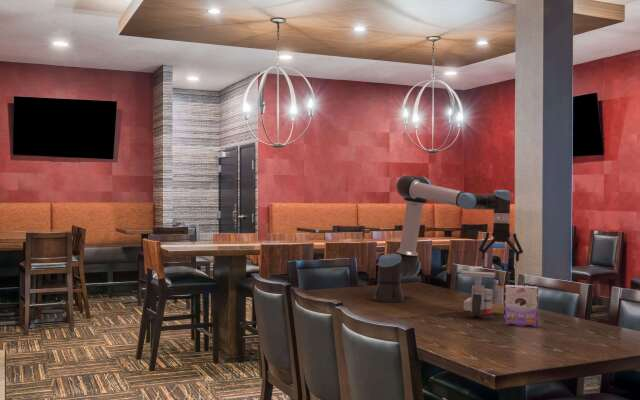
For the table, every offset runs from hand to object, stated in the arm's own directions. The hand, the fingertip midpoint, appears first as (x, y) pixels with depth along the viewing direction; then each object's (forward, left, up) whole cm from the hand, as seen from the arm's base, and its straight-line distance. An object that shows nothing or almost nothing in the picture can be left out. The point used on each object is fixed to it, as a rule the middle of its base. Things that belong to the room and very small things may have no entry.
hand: (500, 267), depth 327 cm
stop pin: (0, 0, -21) cm, 21 cm away
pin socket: (0, 0, -21) cm, 21 cm away
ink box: (-6, -11, -21) cm, 25 cm away
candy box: (+14, -32, -21) cm, 41 cm away
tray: (-11, +3, -21) cm, 24 cm away
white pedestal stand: (-6, -22, -21) cm, 31 cm away
